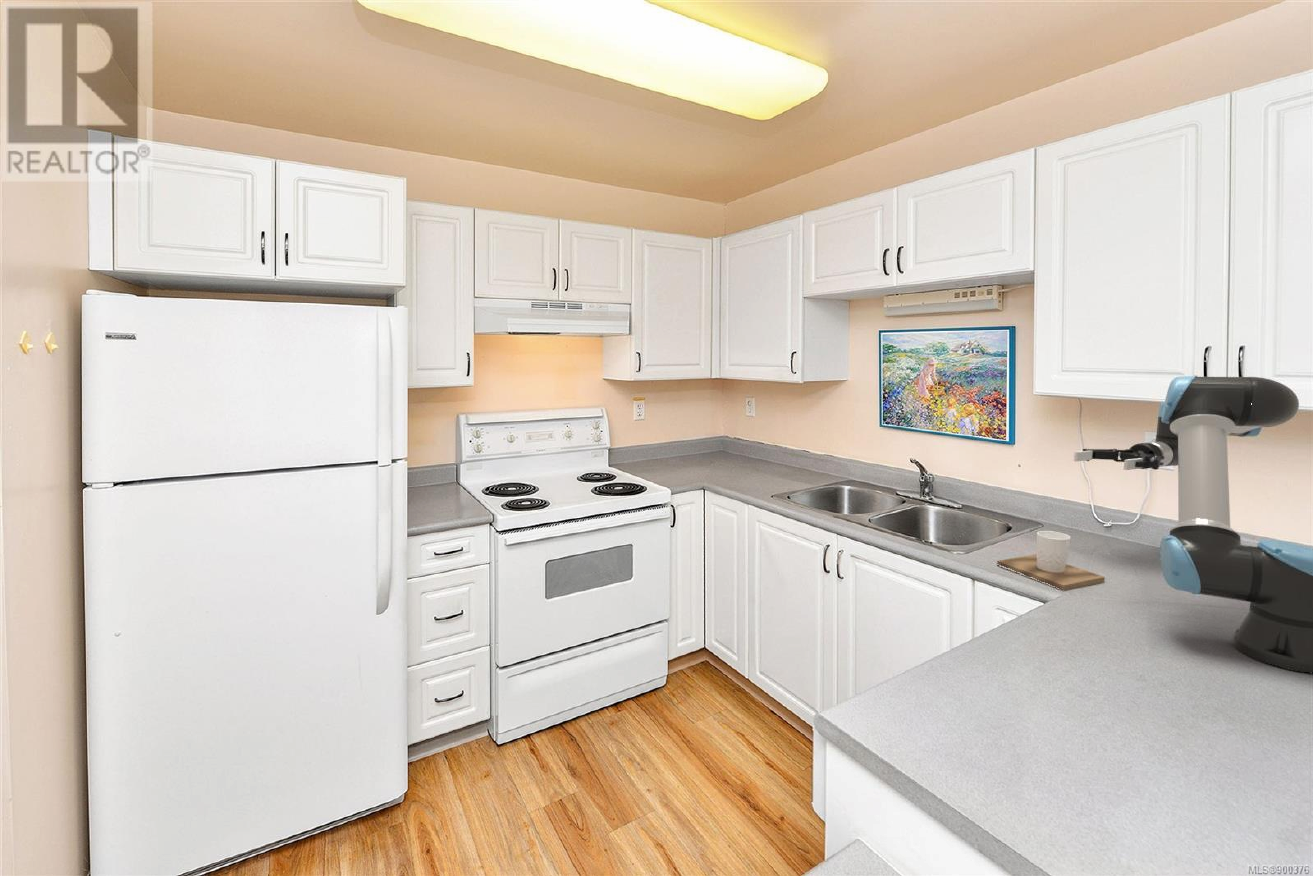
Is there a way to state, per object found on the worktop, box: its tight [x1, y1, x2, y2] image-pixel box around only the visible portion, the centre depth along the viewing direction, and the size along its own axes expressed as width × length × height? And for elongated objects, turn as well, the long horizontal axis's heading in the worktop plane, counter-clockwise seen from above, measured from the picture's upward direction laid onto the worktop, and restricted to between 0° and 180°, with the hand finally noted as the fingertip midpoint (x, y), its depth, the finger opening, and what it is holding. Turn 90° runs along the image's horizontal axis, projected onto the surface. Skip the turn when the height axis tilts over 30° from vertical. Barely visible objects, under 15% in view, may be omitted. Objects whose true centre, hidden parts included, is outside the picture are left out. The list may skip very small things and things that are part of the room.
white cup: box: [1036, 530, 1071, 573], centre depth 170 cm, size 8×8×10 cm
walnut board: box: [996, 553, 1106, 591], centre depth 171 cm, size 20×16×2 cm
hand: (1099, 460), depth 169 cm, fingers open, 13 cm apart
